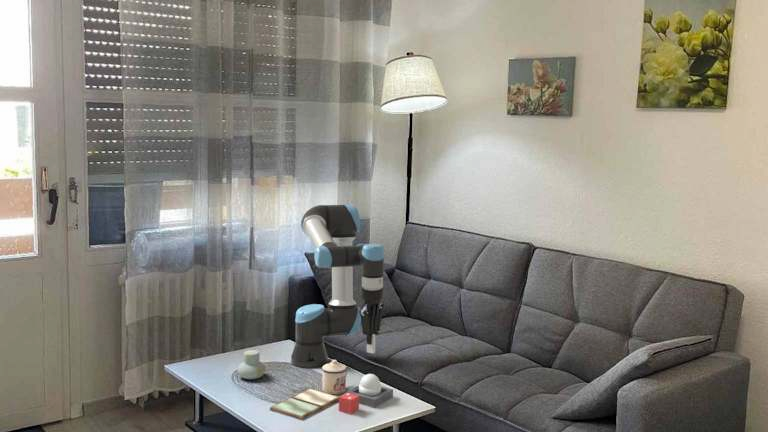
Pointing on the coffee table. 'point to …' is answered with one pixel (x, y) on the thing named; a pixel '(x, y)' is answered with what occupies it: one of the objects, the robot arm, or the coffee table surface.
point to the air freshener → (251, 366)
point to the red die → (349, 403)
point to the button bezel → (370, 401)
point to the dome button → (370, 385)
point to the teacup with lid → (334, 378)
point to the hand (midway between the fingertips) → (370, 352)
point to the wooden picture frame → (305, 403)
